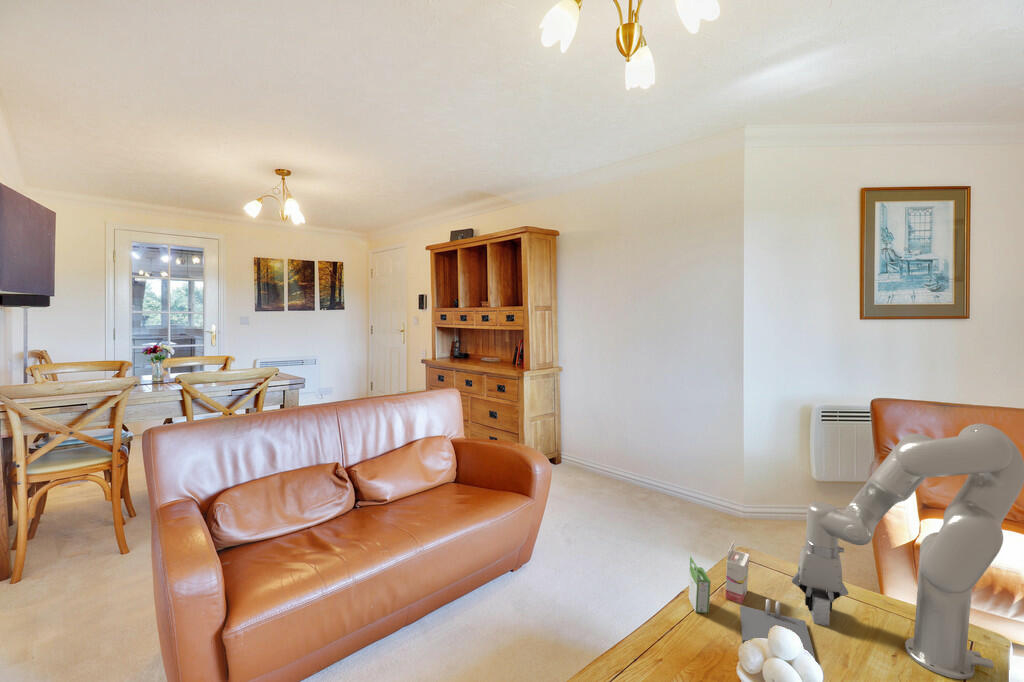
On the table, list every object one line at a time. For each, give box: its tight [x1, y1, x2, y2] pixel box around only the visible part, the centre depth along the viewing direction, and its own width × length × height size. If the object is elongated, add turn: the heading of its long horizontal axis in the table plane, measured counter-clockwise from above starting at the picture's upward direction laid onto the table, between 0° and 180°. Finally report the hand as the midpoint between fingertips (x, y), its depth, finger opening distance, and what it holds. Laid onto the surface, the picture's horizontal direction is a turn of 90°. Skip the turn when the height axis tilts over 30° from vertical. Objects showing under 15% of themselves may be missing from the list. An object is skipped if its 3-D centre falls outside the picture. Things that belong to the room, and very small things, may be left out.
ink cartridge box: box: [724, 541, 750, 605], centre depth 140 cm, size 9×5×15 cm, turn 144°
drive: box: [809, 588, 831, 627], centre depth 132 cm, size 4×10×7 cm, turn 156°
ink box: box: [688, 555, 711, 614], centre depth 135 cm, size 7×4×13 cm, turn 175°
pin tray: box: [739, 598, 816, 659], centre depth 124 cm, size 16×15×5 cm
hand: (818, 609), depth 132 cm, fingers closed on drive, 3 cm apart
